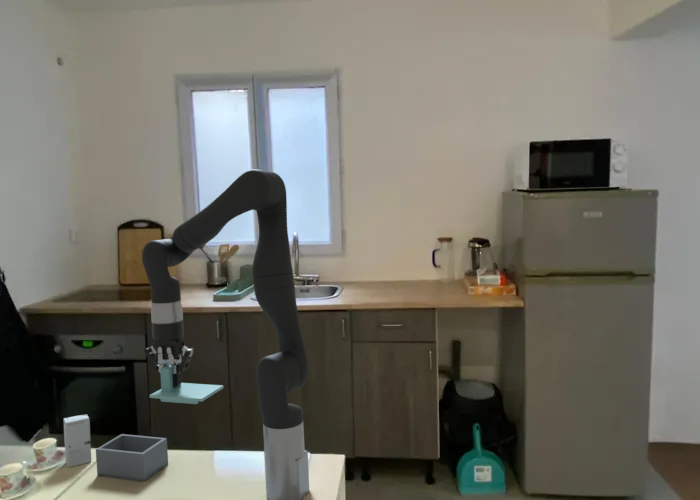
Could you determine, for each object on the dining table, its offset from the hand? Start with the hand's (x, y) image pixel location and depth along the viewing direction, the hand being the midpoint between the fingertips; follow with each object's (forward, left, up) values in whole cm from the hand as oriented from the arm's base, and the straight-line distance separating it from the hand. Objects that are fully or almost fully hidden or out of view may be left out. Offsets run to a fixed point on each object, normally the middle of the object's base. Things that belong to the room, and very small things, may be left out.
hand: (171, 386), depth 146 cm
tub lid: (-4, 0, -2) cm, 5 cm away
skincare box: (+30, 0, -23) cm, 38 cm away
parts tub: (+12, +1, -22) cm, 25 cm away
